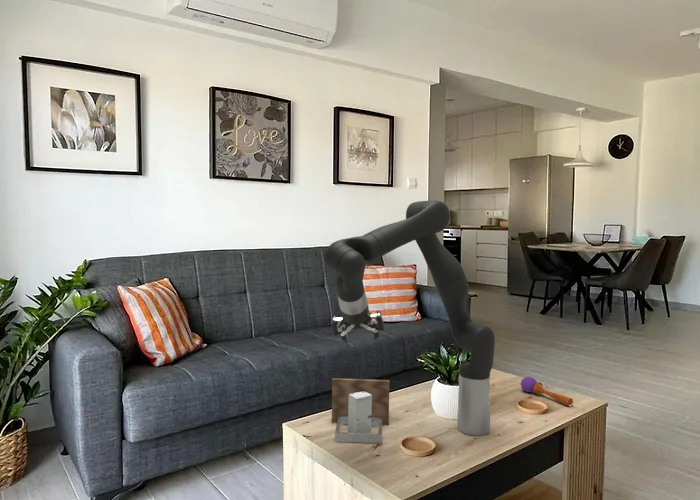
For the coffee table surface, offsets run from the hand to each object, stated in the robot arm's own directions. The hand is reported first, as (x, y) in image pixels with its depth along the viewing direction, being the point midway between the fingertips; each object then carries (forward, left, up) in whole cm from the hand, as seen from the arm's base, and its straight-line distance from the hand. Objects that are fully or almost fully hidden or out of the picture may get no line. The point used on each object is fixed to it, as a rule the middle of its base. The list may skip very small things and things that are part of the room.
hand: (360, 338), depth 145 cm
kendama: (-67, -40, -31) cm, 84 cm away
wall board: (0, -13, -30) cm, 33 cm away
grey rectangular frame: (0, -4, -30) cm, 30 cm away
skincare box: (0, -4, -30) cm, 31 cm away
